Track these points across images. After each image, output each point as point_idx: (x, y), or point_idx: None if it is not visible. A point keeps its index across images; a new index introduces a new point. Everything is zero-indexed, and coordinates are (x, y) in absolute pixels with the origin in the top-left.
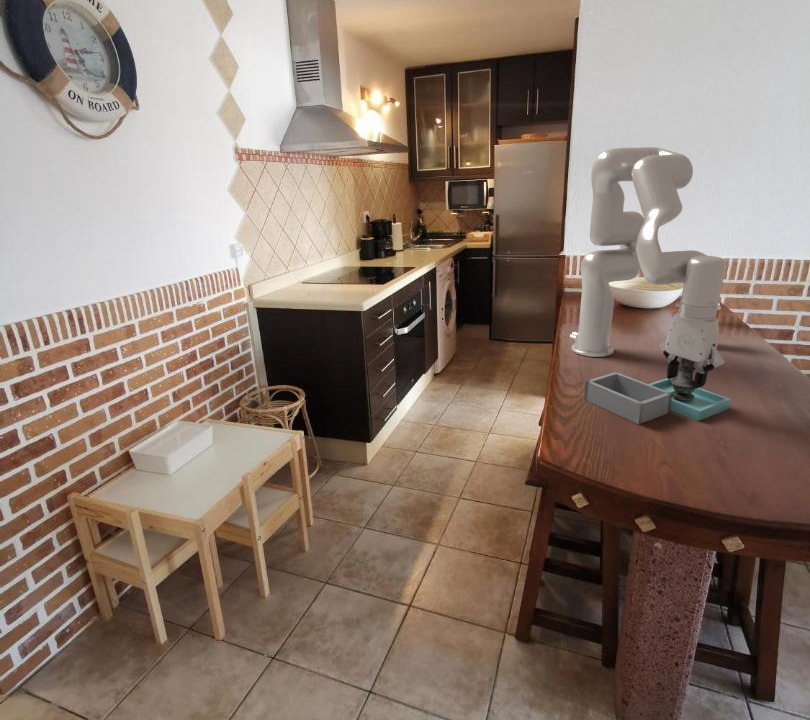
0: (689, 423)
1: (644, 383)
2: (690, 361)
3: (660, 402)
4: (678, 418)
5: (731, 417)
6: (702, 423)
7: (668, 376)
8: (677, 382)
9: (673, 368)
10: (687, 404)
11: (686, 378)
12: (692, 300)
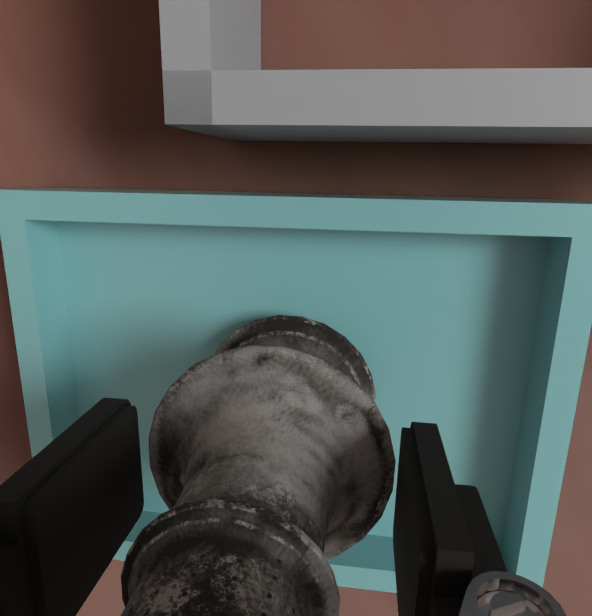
0: (51, 105)
1: (540, 102)
2: None
3: None
4: (137, 111)
5: (4, 406)
6: (16, 183)
7: (420, 433)
8: (284, 387)
9: (409, 542)
10: (201, 321)
11: (203, 456)
12: None
